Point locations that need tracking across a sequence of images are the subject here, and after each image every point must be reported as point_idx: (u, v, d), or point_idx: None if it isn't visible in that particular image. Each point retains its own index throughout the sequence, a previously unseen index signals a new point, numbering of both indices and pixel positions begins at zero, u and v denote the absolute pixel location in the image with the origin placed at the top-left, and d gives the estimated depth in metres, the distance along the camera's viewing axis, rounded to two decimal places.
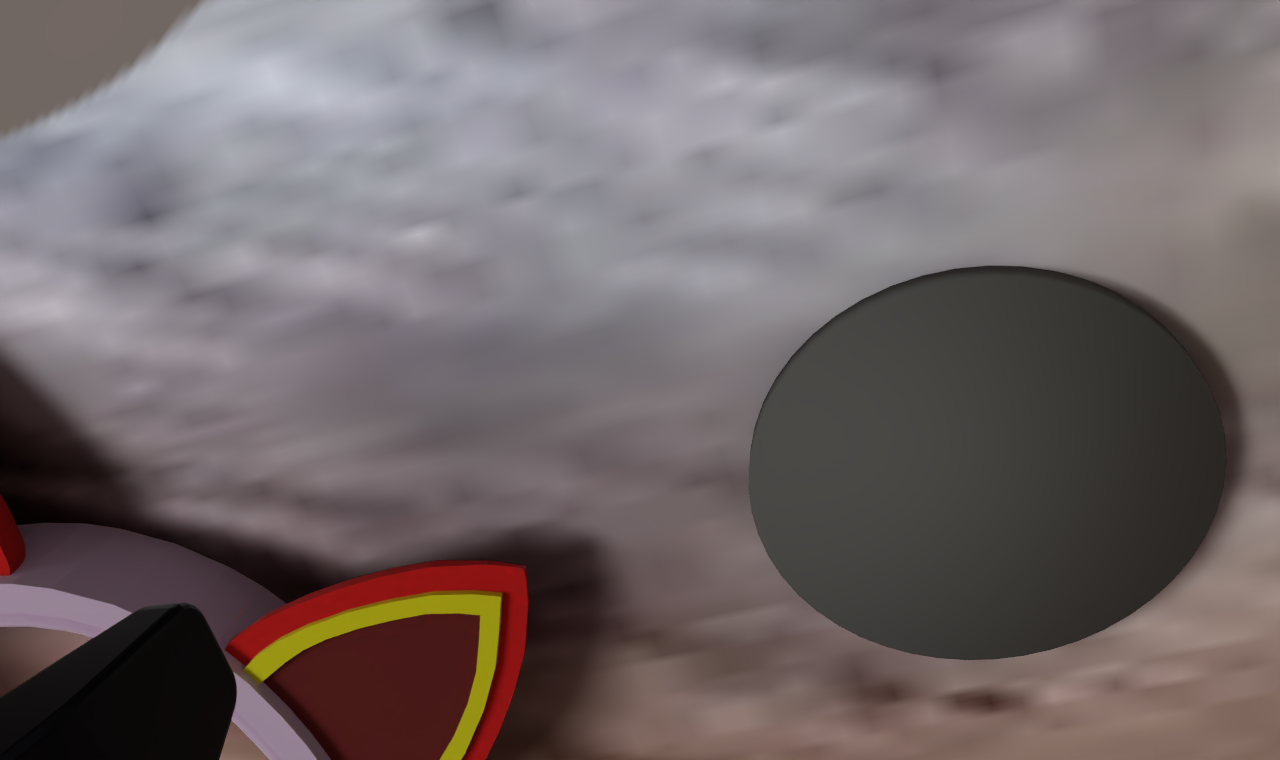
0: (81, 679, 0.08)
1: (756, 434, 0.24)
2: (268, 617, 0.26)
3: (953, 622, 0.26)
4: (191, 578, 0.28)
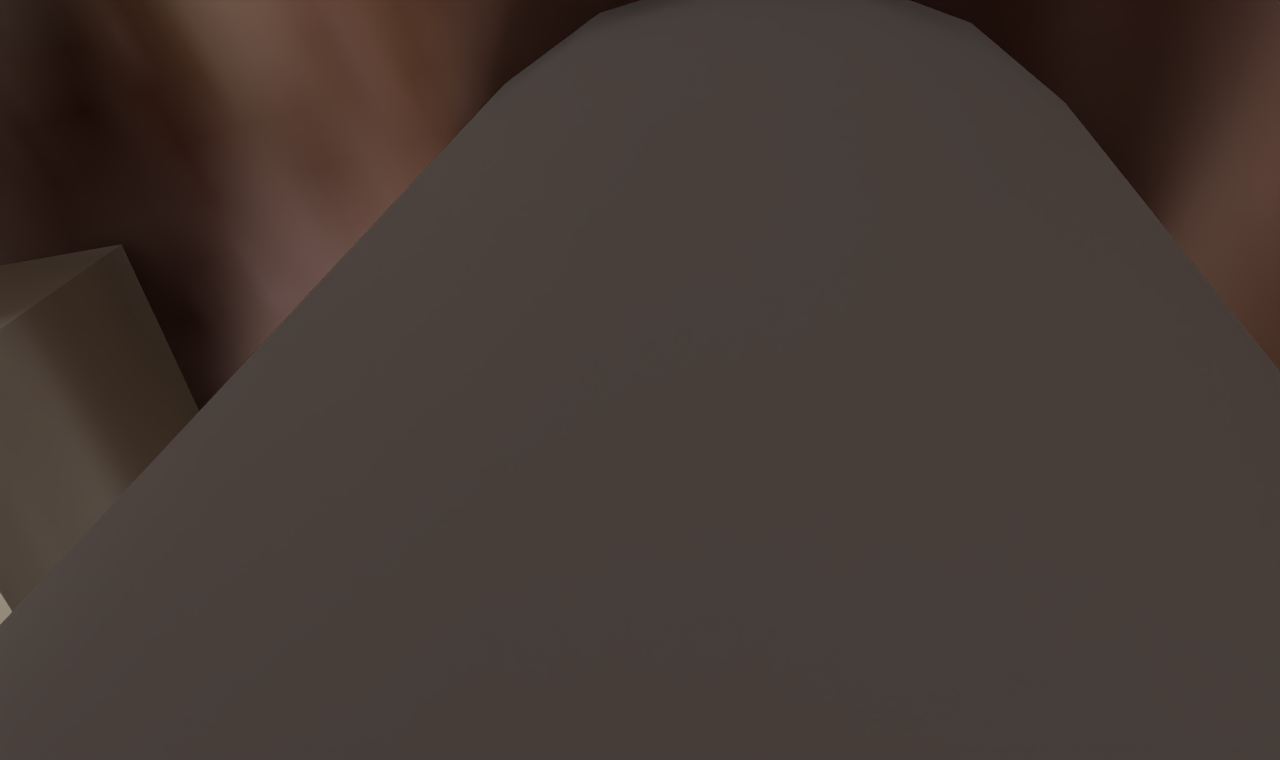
0: None
1: None
2: None
3: None
4: None
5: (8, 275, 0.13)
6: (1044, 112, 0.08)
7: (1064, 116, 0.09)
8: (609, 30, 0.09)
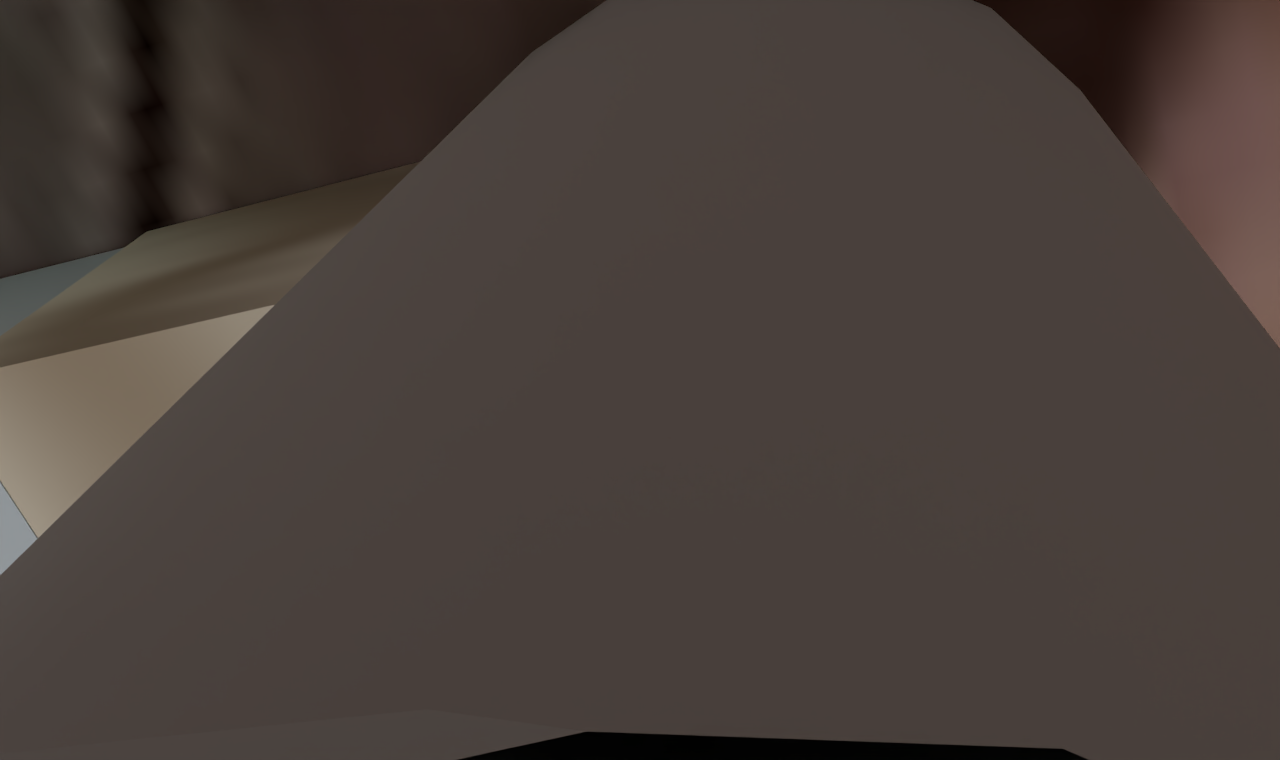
0: None
1: None
2: None
3: None
4: None
5: (317, 199, 0.13)
6: (1059, 94, 0.08)
7: (1078, 101, 0.09)
8: (637, 1, 0.09)
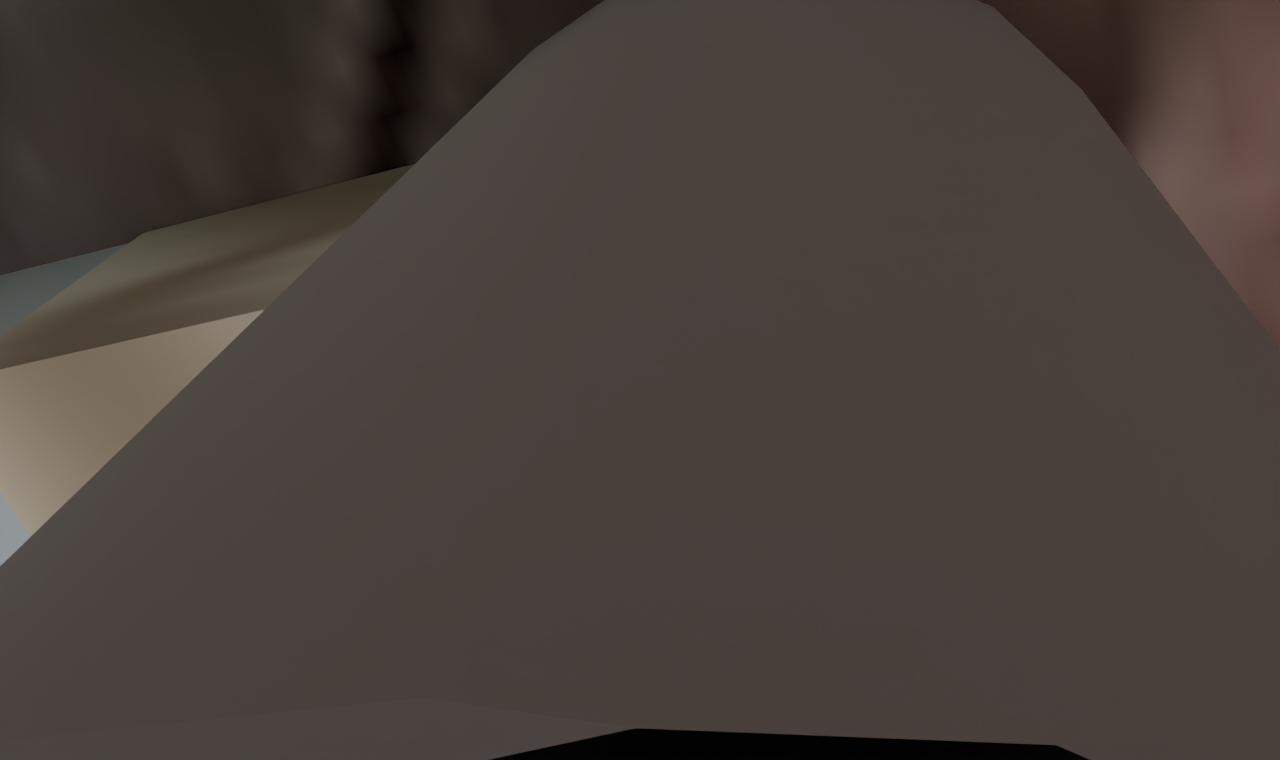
0: None
1: None
2: None
3: None
4: None
5: (315, 200, 0.13)
6: (1060, 93, 0.08)
7: (1079, 100, 0.09)
8: None
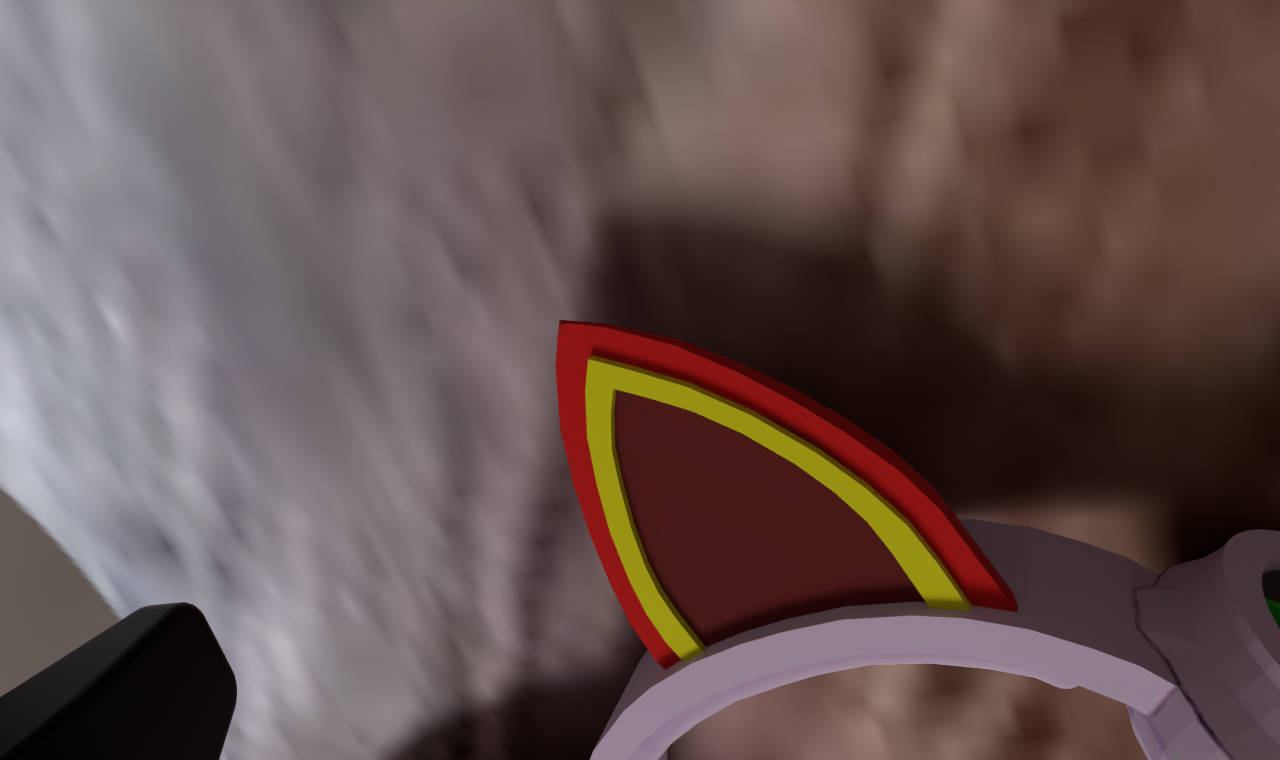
0: (81, 679, 0.08)
1: None
2: (626, 613, 0.22)
3: None
4: (643, 663, 0.25)
5: None
6: None
7: None
8: None
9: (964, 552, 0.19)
